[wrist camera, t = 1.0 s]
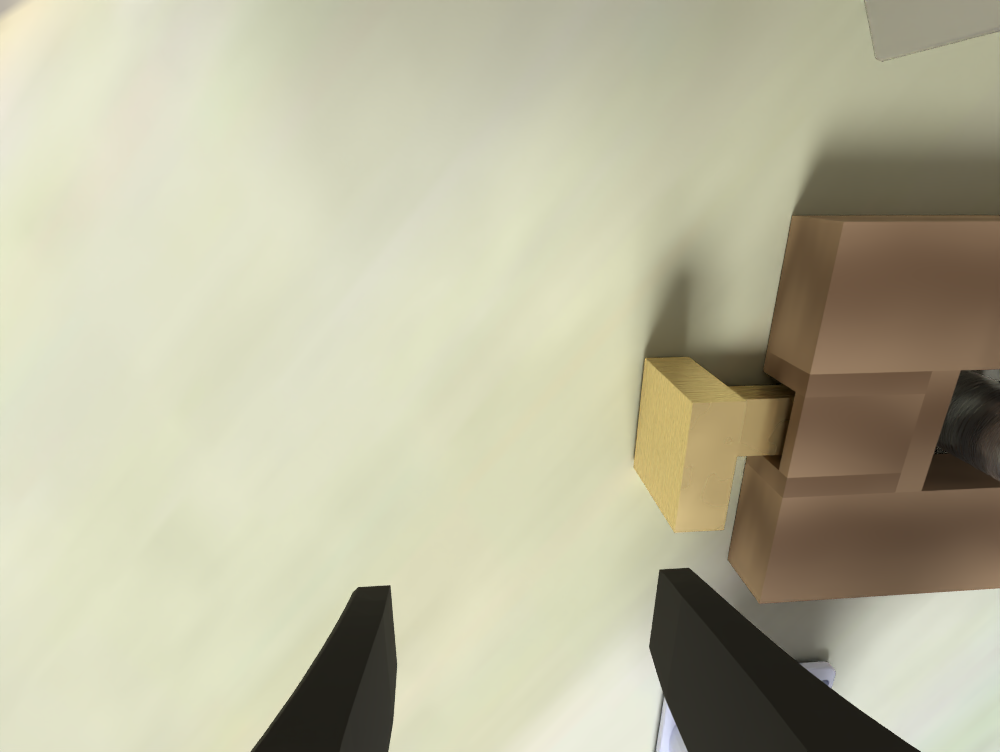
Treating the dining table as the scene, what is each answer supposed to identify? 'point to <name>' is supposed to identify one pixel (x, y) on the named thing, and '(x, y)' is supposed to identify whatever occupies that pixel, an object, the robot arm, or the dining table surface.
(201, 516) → the dining table surface
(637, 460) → the light wooden block
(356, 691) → the robot arm
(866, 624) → the dining table surface
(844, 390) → the socket block
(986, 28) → the lighter
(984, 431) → the grey stepped cylinder
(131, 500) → the dining table surface
